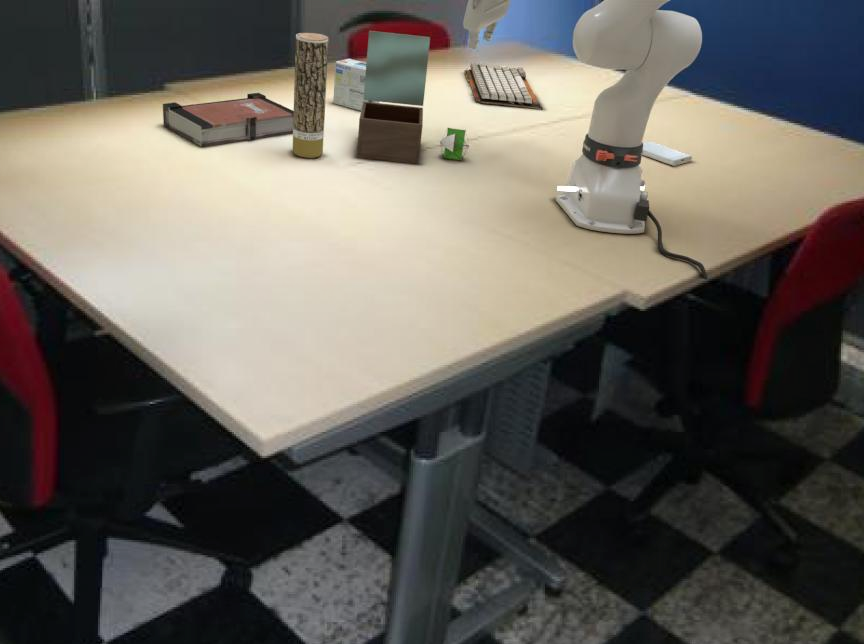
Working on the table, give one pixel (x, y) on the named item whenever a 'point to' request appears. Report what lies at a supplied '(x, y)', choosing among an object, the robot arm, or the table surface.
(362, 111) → the case
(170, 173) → the table surface
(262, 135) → the book
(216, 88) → the table surface
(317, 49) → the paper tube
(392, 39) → the pale blue slab
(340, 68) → the light bulb box
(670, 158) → the hard drive
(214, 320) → the table surface
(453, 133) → the geometric puzzle
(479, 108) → the table surface
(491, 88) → the mechanical keyboard
